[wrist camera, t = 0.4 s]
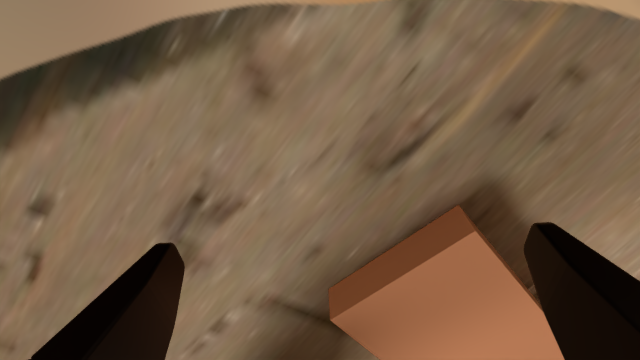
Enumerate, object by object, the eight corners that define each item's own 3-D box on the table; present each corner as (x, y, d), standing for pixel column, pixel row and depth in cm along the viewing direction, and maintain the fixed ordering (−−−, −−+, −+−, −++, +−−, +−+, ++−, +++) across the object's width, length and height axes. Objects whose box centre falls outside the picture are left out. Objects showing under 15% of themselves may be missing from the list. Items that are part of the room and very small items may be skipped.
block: (445, 384, 37) (458, 421, 34) (328, 285, 30) (330, 320, 27) (560, 328, 33) (586, 364, 30) (456, 201, 26) (475, 230, 23)
